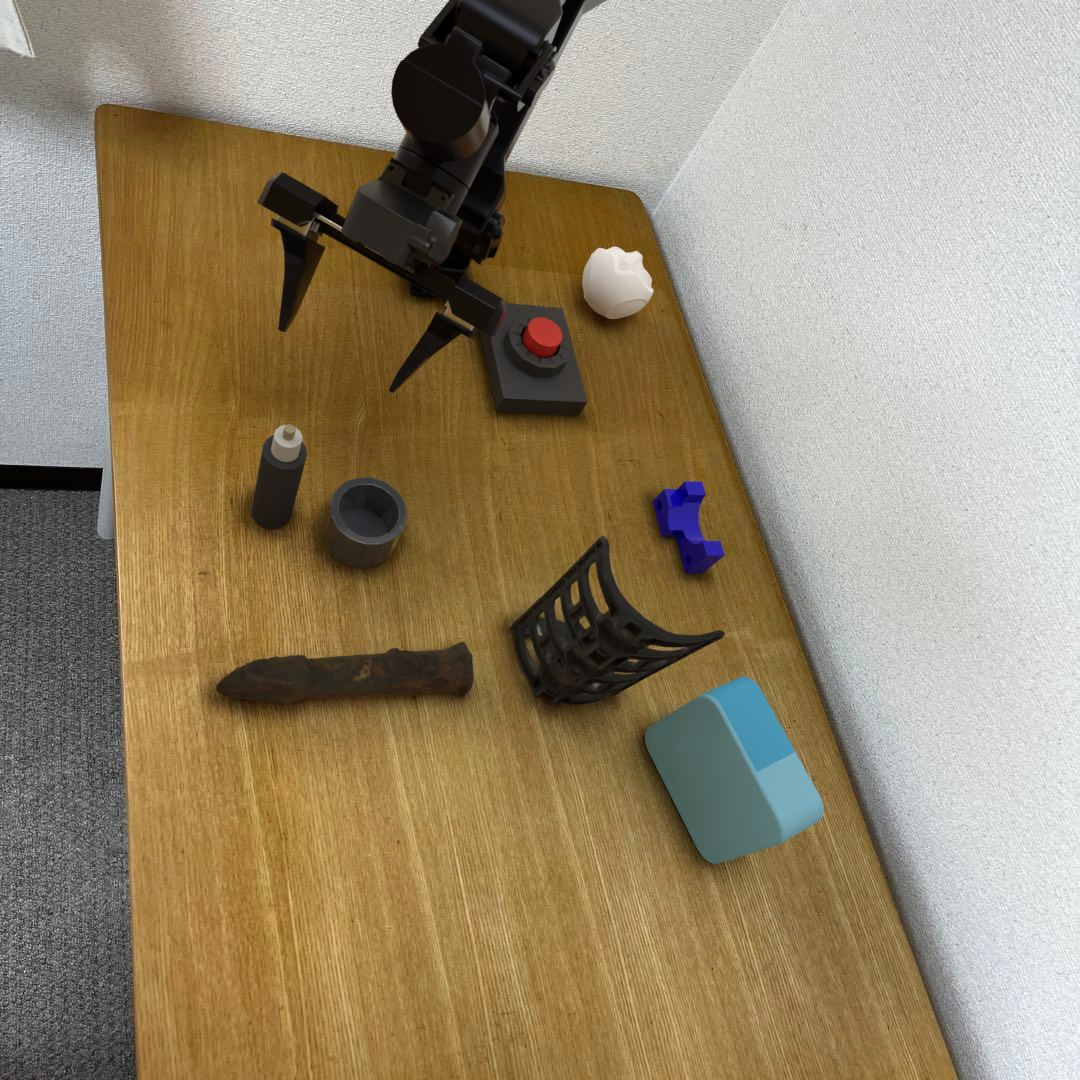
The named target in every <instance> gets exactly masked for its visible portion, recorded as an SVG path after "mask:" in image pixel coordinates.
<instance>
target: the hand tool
mask: <svg viewBox="0 0 1080 1080" xmlns="http://www.w3.org/2000/svg"><path fill="white" fill-rule="evenodd" d="M473 657H474V656H473V654H472V653H471V651H470V650H469V647H468V646H467V644H466V642H465V641H463V640H462V641H460V642H458V643H456V644H454V645H451V646H450V647H447V648H443V649H428V650H427V649H426V650H416V651H413V650H407V649H403V650H402V649H400V648H398V647H393V648H390V649H388V650H387V651H385V652H383V653H382V652H380V653H368V654H367V653H365V654H352V655H337V656H328V657H314V658H312V657H307V656H306V655H303V654H296V655H286V656H272V657H269V658H258V659H255V660H251V661H249V662H247V663H245V664H244V665H241V666H239V667H236V668H235V669H234V670H232V671H231V672H230V673H228V674H227V675H225V676H224V677H223V678H221V680H220V681H219V682H218V683H217V684H216V687H215V690H216V691H215V692H217V694H219V695H220V696H224V697H228V698H231V699H238V700H241V701H242V700H243V701H250V702H251V701H252V702H256V703H264V702H265V703H272V704H273V703H274V704H285V705H288V704H293V703H296V702H298V701H302V700H317V699H318V700H319V699H320V700H321V699H342V698H343V699H345V698H351V699H355V698H356V699H357V698H358V699H359V698H364V697H378V696H380V697H381V696H412V695H418V694H419V695H420V694H427V693H441V692H442V693H445V692H446V693H448V692H449V693H454V694H457V695H458V696H459V697H461V698H465V697H466V696H467V695H468V693H469V692H471V690H472V688H473V684H474V679H475V677H474V666H473V665H474V664H473V663H474V662H473V660H474V659H473Z"/></svg>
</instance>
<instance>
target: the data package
mask: <svg viewBox="0 0 1080 1080" xmlns="http://www.w3.org/2000/svg"><path fill="white" fill-rule="evenodd" d="M644 743H645V747H646V749H647V752H648V753H649V756H650V758H651V760H652V761H653V763H654V766H655V768H656V770H657V771H658V774H659V775H660V777H661V780H662V782H663V784H664V786H665V787H666V790H667V791H668V793H669V796H670V797H671V799H672V801H673V803H674V805H675V807H676V809H677V812H678V814H679V815H680V818H681V819H682V821H683V823H684V825H685V828H686V829H687V831H688V833H689V835H690V837H691V839H692V842H693V844H694V846H695V847H696V849H697V852H699V854H700V855H701V857H703V859H704V860H705V861H707V862H708V863H710V864H713V865H717V864H721V863H725V862H728V861H731V860H735V859H738V858H741V857H744V856H748V855H750V854H754V853H757V852H761V851H763V850H766V849H767V850H768V849H770V848H773V847H777V846H780V845H782V844H783V843H785V842H787V841H788V840H790V839H791V838H794V837H795V836H797V835H799V834H800V833H802V832H805V830H808V828H811V827H812V826H814V825H816V824H817V823H819V822H821V820H822V819H823V818H824V813H825V812H824V811H825V807H824V806H825V805H824V802H823V799H822V797H821V794H820V793H819V791H818V789H817V788H816V786H815V784H814V782H813V780H812V778H811V777H810V775H809V773H808V772H807V770H806V768H805V766H804V764H803V762H802V761H801V759H800V757H799V755H798V753H797V752H796V750H795V748H794V746H793V744H792V743H791V741H790V739H789V737H788V735H787V734H786V732H785V730H784V728H783V726H782V724H781V723H780V721H779V719H778V718H777V715H776V714H775V712H774V710H773V708H772V707H771V705H770V703H769V701H768V699H767V697H766V696H765V694H764V691H763V690H762V689H761V687H760V685H759V684H758V683H757V682H756V681H755V680H753V679H752V678H750V677H747V676H739V677H737V678H735V679H732V680H730V681H728V682H726V683H723V684H721V685H719V686H717V687H714V688H712V689H709V690H708V691H706V692H703V693H701V694H699V695H697V696H696V697H694V698H693V699H691V700H689V701H688V702H686V703H685V704H684V705H683V704H682V706H680V707H678V708H676V710H674V711H673V712H671V713H669V714H667V715H666V716H664V717H662V718H661V719H660V720H657V721H656V722H655V723H653V724H652V725H650V726H649V727H647V728H646V730H645V733H644Z"/></svg>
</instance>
